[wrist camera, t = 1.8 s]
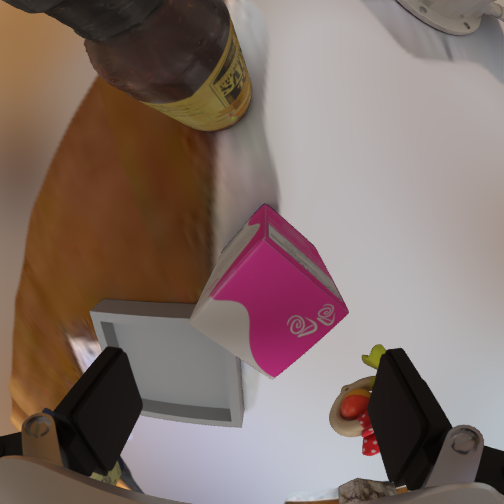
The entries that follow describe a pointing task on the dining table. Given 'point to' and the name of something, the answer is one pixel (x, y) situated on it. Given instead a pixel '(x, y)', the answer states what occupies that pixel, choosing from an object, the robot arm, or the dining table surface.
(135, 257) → the dining table surface
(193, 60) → the sauce bottle
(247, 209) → the dining table surface
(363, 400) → the bird rattle
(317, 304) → the supplement box
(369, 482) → the stone block
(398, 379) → the robot arm
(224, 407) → the slate tray
